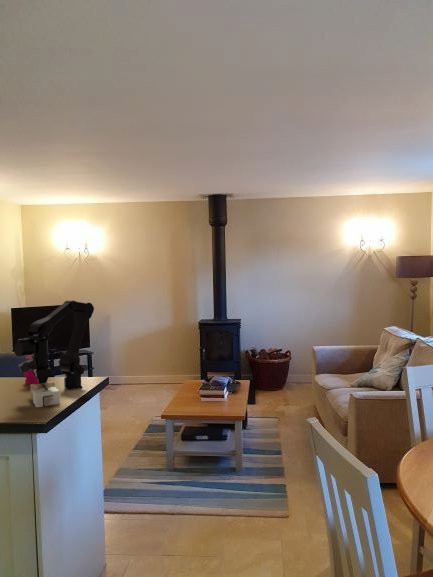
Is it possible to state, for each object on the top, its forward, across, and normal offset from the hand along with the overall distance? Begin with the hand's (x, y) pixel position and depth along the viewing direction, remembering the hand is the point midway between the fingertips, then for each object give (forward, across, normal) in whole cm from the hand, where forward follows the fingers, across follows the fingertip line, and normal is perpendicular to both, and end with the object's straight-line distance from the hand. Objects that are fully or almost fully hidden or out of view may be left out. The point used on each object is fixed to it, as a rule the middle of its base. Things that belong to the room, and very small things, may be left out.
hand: (41, 389), depth 175 cm
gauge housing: (+3, +10, 0) cm, 11 cm away
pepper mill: (+3, -30, 0) cm, 30 cm away
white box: (+3, +10, 0) cm, 10 cm away
